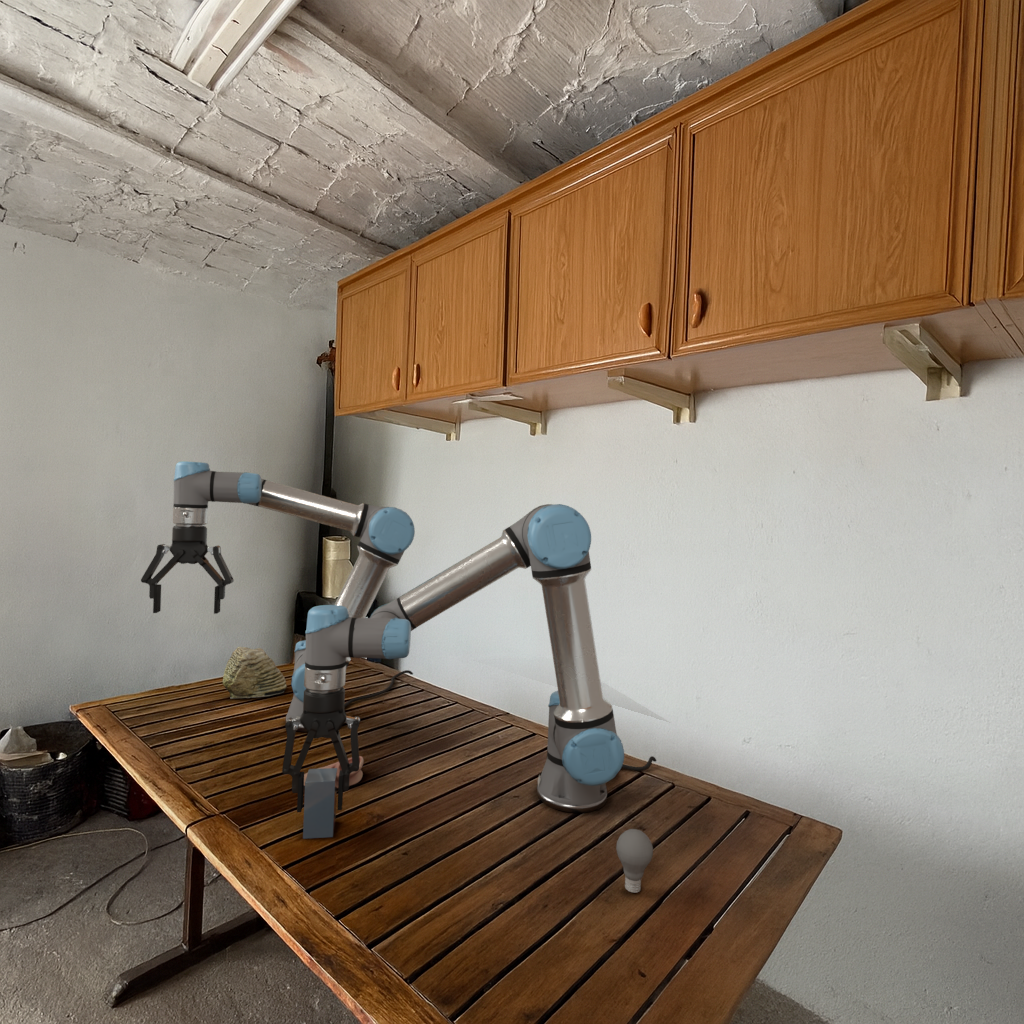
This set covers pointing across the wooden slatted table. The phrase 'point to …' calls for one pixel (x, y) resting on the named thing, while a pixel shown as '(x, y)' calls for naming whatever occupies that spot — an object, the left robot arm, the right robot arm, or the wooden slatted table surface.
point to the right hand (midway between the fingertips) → (320, 807)
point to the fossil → (252, 674)
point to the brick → (320, 803)
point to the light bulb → (634, 857)
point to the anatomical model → (354, 776)
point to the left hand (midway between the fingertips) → (187, 612)
